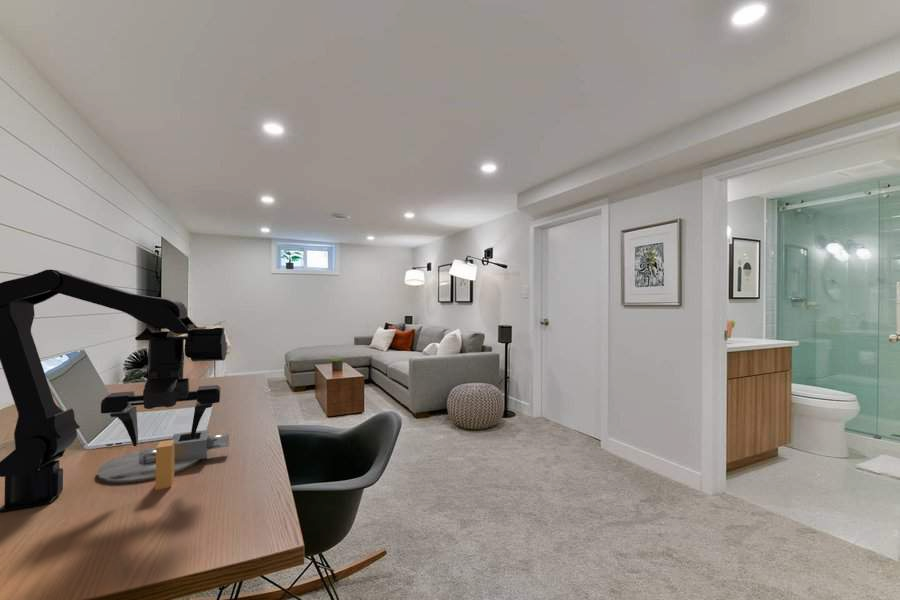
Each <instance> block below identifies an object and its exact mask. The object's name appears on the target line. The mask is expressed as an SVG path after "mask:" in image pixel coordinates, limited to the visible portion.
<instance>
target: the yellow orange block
mask: <svg viewBox="0 0 900 600" xmlns="http://www.w3.org/2000/svg"><path fill="white" fill-rule="evenodd" d="M174 444H175V440H171V439H169V440H164V441H158V444H157V445H156V479H155V490H156V491H157V489H158V490H162V489H163V488H164V489H169V487H170V488H172V487H173V484H174V481H175V473H174Z"/></svg>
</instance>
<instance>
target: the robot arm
mask: <svg viewBox="0 0 900 600" xmlns="http://www.w3.org/2000/svg"><path fill="white" fill-rule="evenodd" d="M60 294H61V295H63V296H67V297H71V298H73V299H78V300H81V301H83V302H84V301H85V302H88V303H92V304H94V305H98V306H103V307H105V308H109V309H111V310H112V309H113V310H117V311H119V312H122V313H124V314H127V315H129V316H130V317H133V318H134V319H136V320H137V321H140V322H141V323H144V324H146V325H148V326H150V327H145V329H144V330H143V331H142V332H141V333H140V334H139V335H137V336H135V338H134V339H135V340H136V341H148V353H147V354H148V361H147V366H148V367H147V380H146V382H145V384H144V388H143V391H142V394H140V395H139V394H137V395H135V391H134V390H132V391H120V392H111V393H109V394H108V395H107V396H105V397H104V398H103V399H101V403H100V414H109V417H111V418H117V419H118V420H119V421H121V423H122V424H123V426H124V427H125V429H126V431H127V434H128V436H129V438H130V441H131V443H132V445H133V447H137V446H138V442H139V428H138V427H139V426H138V415H137V414H138V412H137V406H143V408H144V409H147V410H152V409H155V408H163V407H164V408H172V407H174V406H175V405H177V402H187V401H188V402H189V401H196V403H195V406H194V412H193V419H192V424H191V431H190V432H191V439H194V436H195V433H196V431H198V427H199V424H200V421H201V420H202V417H203V415H204V413H205V411H206V409H207V408H208V409H210V408H212V407H213V405H214V404H217V403H220V402H221V387H220V386H219V385H218V384H213V385H212V384H211V385H201V386H198V388H197V390H191V391H190V380H189V378H184V357H185V356H186V357H187V358H188V359H189V358H190V360H191V362H214V361H215V362H217V361H225V360H226V357H227V349H228V342H227V341H226V340H227V339H226V338H227V337H226V333H225V327H214V328H198V327H197V325H196V324H195V323H194V322H193V320H192V319H191V318H190V317H189V316H188V310H187V307H186V305H185V304H184V303H183V302H182V301H180V300H177V299H172V298H171V299H170V298H164V297H158V296H157V297H156V296H149V295H144V294H143V295H142V294H137V293H134V292H129V291H126V290H123V289H120V288H117V287H113V286H110V285H107V284H103V283H100V282H96V281H93V280H90V279H87V278H83V277H81V276H76V275H73V274H71V273H69V272H67V271H64V270H59V269H57V270H56V269H44V270H42V271H39V272H37V273H34V274H31V275H27V276H21V277H18V278H14V279H9V280H6V281H3V282H0V365H1V366H2V367H1V368H2V371H3V373H4V376H5V378H6V382H7V384H8V388H9V390H10V393H11V396H12V400H13V403H14V406H15V409H16V412H17V420H16V424H15V428H14V432H13V439H14V440H13V441H14V450H13V451H11V452H10V453H9V454H8V455H6V456H5V457H4V458H3V459H2V460H1V461H0V478H3V477H4V496H3V497H4V498H3V499H4V502H3V503H4V504H3V505H2V506H0V513H1V512H8V511H14V510H19V509H26V508H32V507H36V506H37V507H38V506H45V505H48V504H51V503H52V502H53V501H54V500H55V499H56V498H57V497H58V495H59V494H60V493H61V492H62V491H63V490H64V469H63V468H62V467H61V468H60V460H59V458H62V457H63V456H64V454H65V451H66V450H67V449H68V448H69V447H70V446H72V445H73V443H74V442H75V441H76V439H77V436H78V431H77V430H79V428H80V425H79V424H78V423H77V421H76V418H75V417H76V416H75V412H74V409H73V408H68V409H66V410H62V409H61V408H60V407H59V406H58V405H57V404H56V402H55V400H54V397H53V394H52V391H51V389H50V386H49V382H48V380H47V377H46V374H45V369H44V367H43V364H42V361H41V359H40V355H39V353H38V349H37V346H36V342H35V340H34V337H33V334H32V327H33V322H34V318H35V306H36V305H38V304H40V303H44V302H46V301H49V300H50V299H51V298H54V297H55V296H57V295H60ZM153 328H154V329H158V330H157V331H156V330H154V329H153ZM163 329H165V330H167V331H165V330H163ZM160 330H161V331H160ZM162 330H163V331H162ZM174 334H176V335H174ZM180 334H182V335H180ZM185 334H186V335H185ZM183 335H184V336H183ZM184 354H185V355H184Z"/></svg>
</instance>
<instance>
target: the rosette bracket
mask: <svg viewBox="0 0 900 600" xmlns="http://www.w3.org/2000/svg"><path fill="white" fill-rule="evenodd" d="M209 434H210V429H204V430H196V433H195V436H194V439H191V431H188V432H180V433H174V434H173V435H172V437H171V439H170V440H175V444H174V474H177V473H180V472H182V471H184V469H185V470H187V469H189V468H190V467H193V466H194V465H196V464H197V463H198V462H200V460H202V459H206V458H207V457H208V454H209V453H208V452H209V451H211V450H218V449H222V448H223V449H224V448H229V445H230V444H229V443H230V442H229V441H230V439H229V437H230V434H229V433H224V434H216V436H209ZM156 447H157V446H156ZM156 447H150V448H144V449H143V450H139V451H138V450H137V451H133V452H130V453H127V454H124V455H121V456H118V457H116V458H112V459H111V460H109V461H107V462H105V463H103V464H102V465H101V466H99V467H98V470H97V478H98V480H99V481H101V482H104V483H110V484H129V483H128V482H131V483H137V482H136V481H140V482H144V480H146V481H150V480H149V479H151V480H156V479H155V478H156ZM186 468H187V469H186ZM179 471H180V472H179Z"/></svg>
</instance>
